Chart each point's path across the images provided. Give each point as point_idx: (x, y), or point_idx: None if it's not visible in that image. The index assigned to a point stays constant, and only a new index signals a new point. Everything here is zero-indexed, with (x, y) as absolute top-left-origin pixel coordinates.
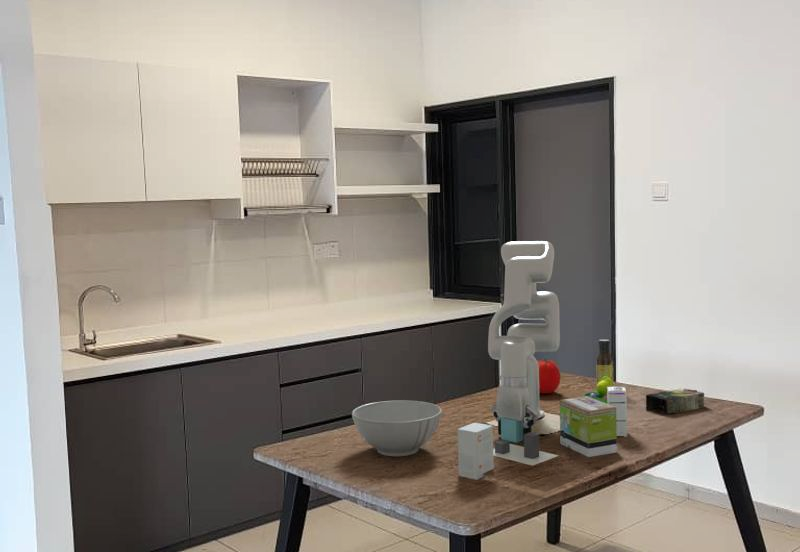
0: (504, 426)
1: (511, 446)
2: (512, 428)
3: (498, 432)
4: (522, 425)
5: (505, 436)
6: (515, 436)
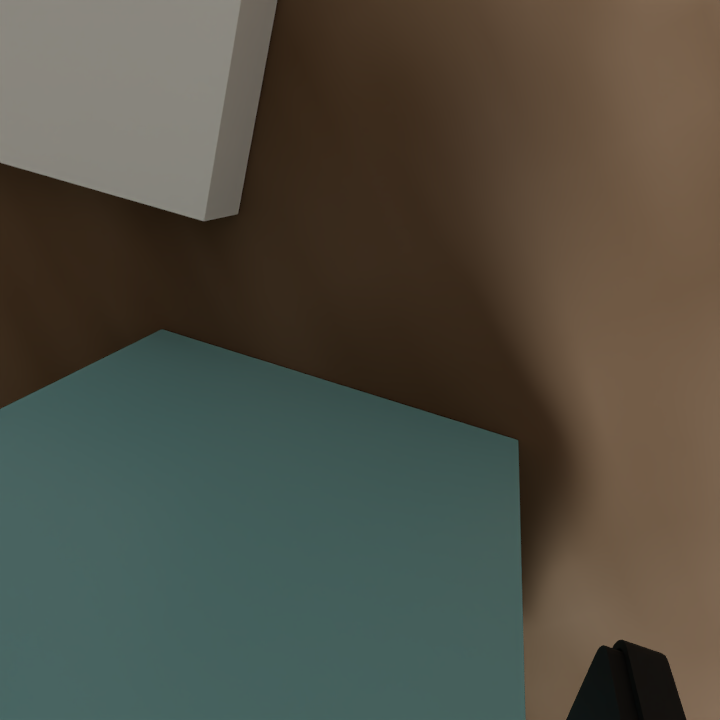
0: (352, 651)
1: (54, 21)
2: (3, 516)
3: (666, 682)
4: None
5: (380, 470)
6: (53, 393)
